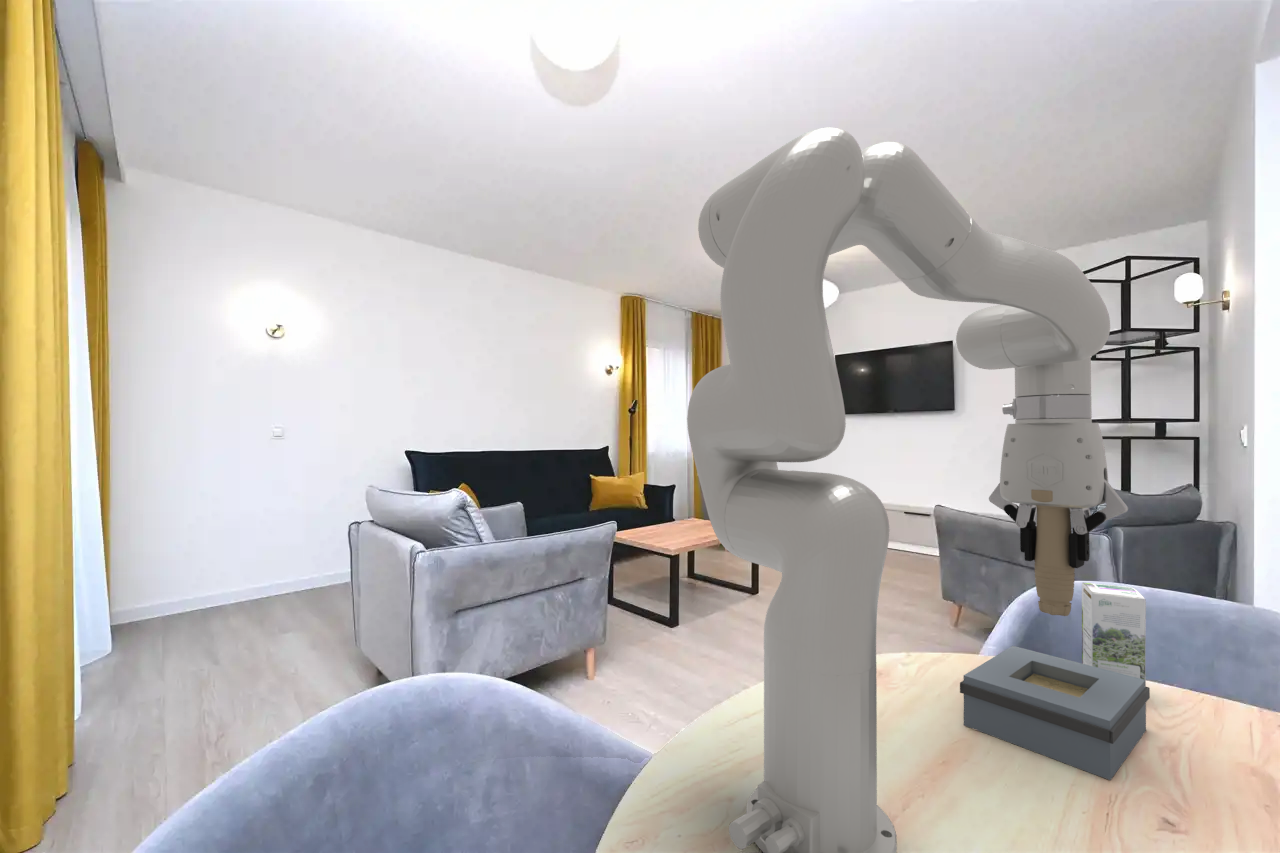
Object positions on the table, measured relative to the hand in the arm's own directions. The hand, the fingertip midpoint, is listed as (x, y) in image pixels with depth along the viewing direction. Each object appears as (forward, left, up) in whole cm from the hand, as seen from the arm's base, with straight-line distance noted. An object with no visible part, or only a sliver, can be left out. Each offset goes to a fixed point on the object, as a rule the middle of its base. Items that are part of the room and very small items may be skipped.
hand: (1054, 561), depth 69 cm
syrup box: (+17, -2, -20) cm, 26 cm away
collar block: (0, 0, -20) cm, 20 cm away
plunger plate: (0, 0, -16) cm, 16 cm away
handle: (0, 0, -6) cm, 6 cm away
